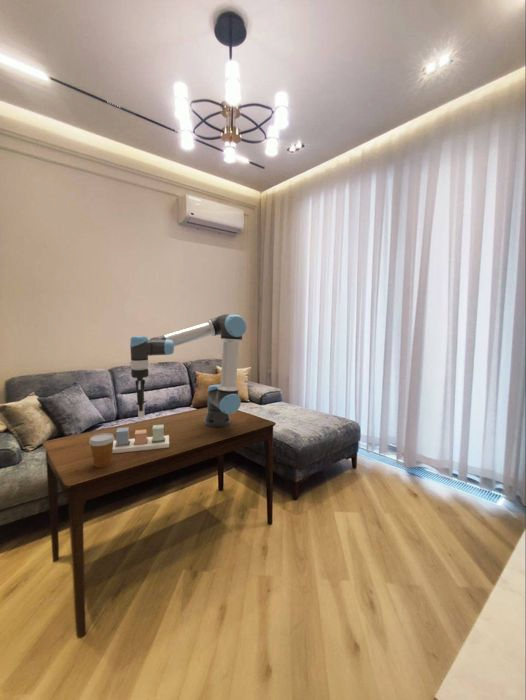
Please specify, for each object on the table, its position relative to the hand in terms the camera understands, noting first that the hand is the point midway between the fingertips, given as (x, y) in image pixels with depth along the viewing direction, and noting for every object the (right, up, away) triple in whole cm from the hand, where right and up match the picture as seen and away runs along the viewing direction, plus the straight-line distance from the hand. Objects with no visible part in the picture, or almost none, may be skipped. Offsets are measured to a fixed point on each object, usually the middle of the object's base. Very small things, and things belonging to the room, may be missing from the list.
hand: (141, 416), depth 146 cm
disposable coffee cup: (-9, -17, -17) cm, 26 cm away
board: (-1, -14, +1) cm, 15 cm away
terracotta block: (-1, -13, +1) cm, 13 cm away
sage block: (+7, -11, +3) cm, 14 cm away
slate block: (-8, -12, -2) cm, 14 cm away
